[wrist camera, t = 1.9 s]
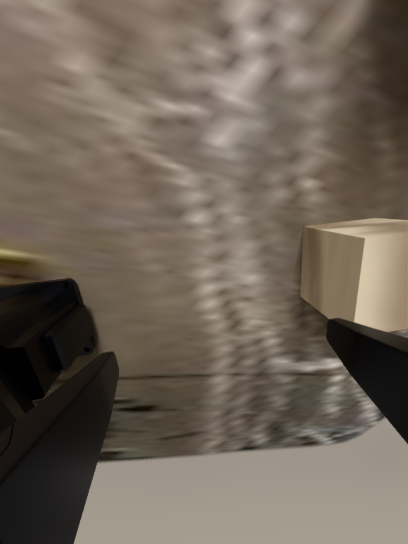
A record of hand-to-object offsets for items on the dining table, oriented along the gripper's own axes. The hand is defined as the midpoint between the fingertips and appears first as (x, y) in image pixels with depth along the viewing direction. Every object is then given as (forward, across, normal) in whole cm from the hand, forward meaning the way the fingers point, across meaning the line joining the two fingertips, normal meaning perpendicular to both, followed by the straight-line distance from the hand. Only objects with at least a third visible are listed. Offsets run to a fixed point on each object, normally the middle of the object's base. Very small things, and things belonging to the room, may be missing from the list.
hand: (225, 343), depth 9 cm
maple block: (+9, -11, 0) cm, 14 cm away
